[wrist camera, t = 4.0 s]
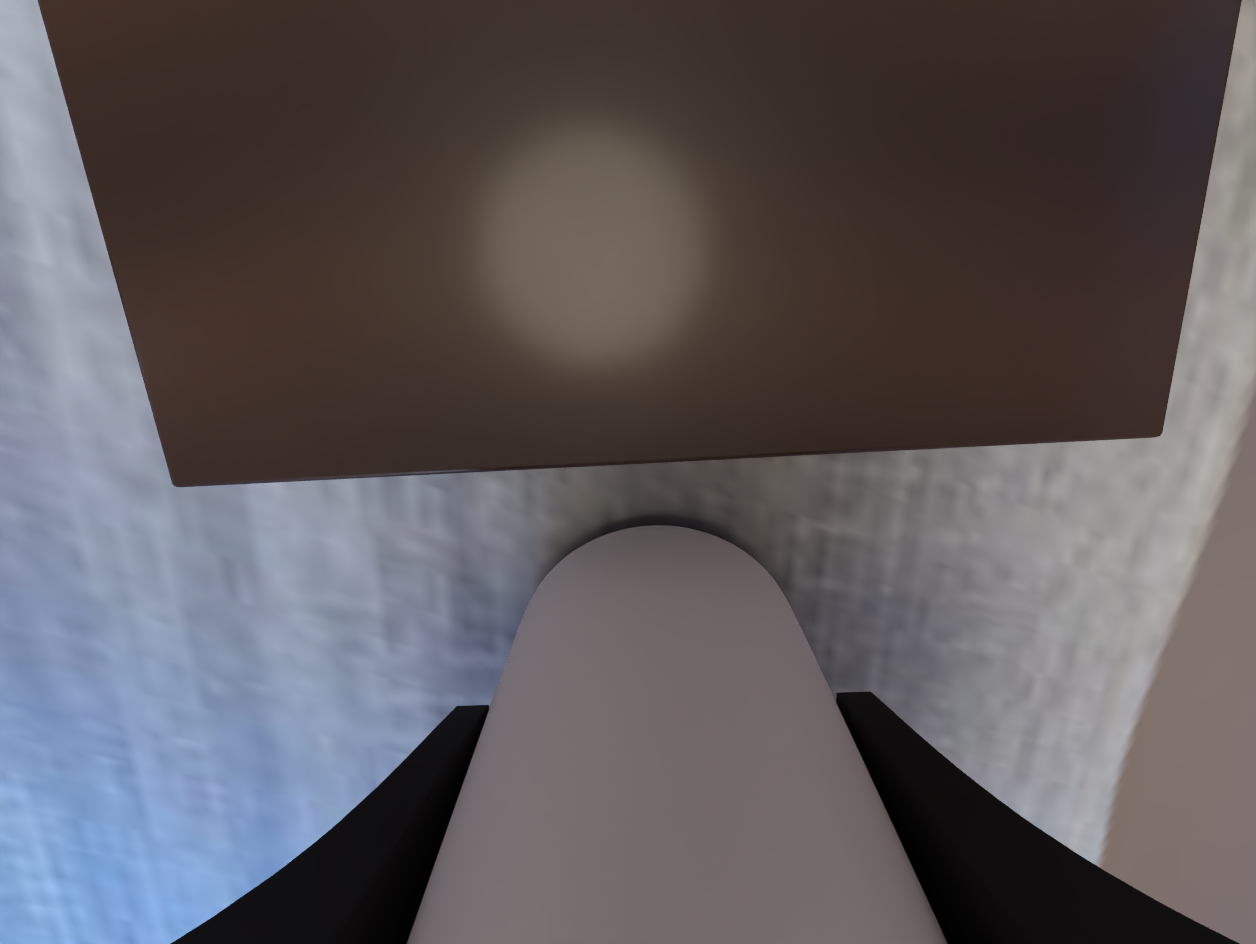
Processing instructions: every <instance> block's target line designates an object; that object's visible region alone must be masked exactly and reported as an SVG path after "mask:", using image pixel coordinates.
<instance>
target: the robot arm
mask: <svg viewBox="0 0 1256 944" xmlns="http://www.w3.org/2000/svg"><path fill="white" fill-rule="evenodd" d="M836 703H837V706H838V708H839V710H840V712H841V714H842V716H843V718H844V721H845V723H846V725H847V727H848V729H849V731H850V733H851V736H852V738H853V740H854V742H855V744H856V746H857V748H858V751H859V753H860V755H861V757H862V759H863V761H864V763H865V766H866V768H867V770H868V772H869V774H870V776H871V779H872V781H873V783H874V785H875V787H876V789H877V792H878V794H879V796H880V798H881V800H882V802H883V805H884V807H885V809H886V811H887V813H888V815H889V817H890V820H891V822H892V824H893V826H894V828H895V830H896V833H897V835H898V837H899V839H900V841H901V843H902V846H903V848H904V850H905V852H906V854H907V856H908V859H909V861H910V863H911V865H912V867H913V869H914V872H915V874H916V876H917V878H918V880H919V882H920V885H921V887H922V889H923V891H924V893H925V895H926V898H927V900H928V902H929V904H930V906H931V909H932V911H933V913H934V915H935V917H936V919H937V922H938V924H939V926H940V928H941V930H942V932H943V935H944V937H945V939H946V941H947V943H948V944H1239V943H1237V942H1235V941H1233V940H1231V939H1229V938H1227V937H1225V936H1223V935H1221V934H1219V933H1217V932H1215V931H1213V930H1211V929H1209V928H1207V927H1205V926H1203V925H1201V924H1199V923H1197V922H1195V921H1193V920H1192V919H1190V918H1188V917H1186V916H1184V915H1182V914H1180V913H1178V912H1176V911H1175V910H1173V909H1171V908H1169V907H1167V906H1165V905H1163V904H1162V903H1160V902H1158V901H1156V900H1154V899H1153V898H1151V897H1149V896H1147V895H1146V894H1144V893H1142V892H1140V891H1139V890H1137V889H1135V888H1133V887H1132V886H1130V885H1128V884H1126V883H1125V882H1123V881H1121V880H1120V879H1118V878H1116V877H1114V876H1113V875H1111V874H1109V873H1108V872H1106V871H1104V870H1102V869H1101V868H1099V867H1098V866H1096V865H1094V864H1093V863H1091V862H1089V861H1088V860H1086V859H1085V858H1083V857H1081V856H1080V855H1078V854H1077V853H1075V852H1073V851H1072V850H1070V849H1069V848H1067V847H1066V846H1064V845H1063V844H1061V843H1060V842H1058V841H1057V840H1055V839H1054V838H1052V837H1051V836H1049V835H1048V834H1046V833H1045V832H1043V831H1042V830H1040V829H1039V828H1037V827H1036V826H1034V825H1033V824H1031V823H1030V822H1028V821H1027V820H1026V819H1024V818H1023V817H1021V816H1020V815H1019V814H1017V813H1016V812H1014V811H1013V810H1012V809H1010V808H1009V807H1008V806H1006V805H1005V804H1004V803H1002V802H1001V801H1000V800H998V799H997V798H996V797H994V796H993V795H992V794H990V793H989V792H988V791H986V790H985V789H984V788H983V787H981V786H980V785H979V784H977V783H976V782H975V781H974V780H972V779H971V778H970V777H969V776H967V775H966V774H965V773H964V772H962V771H961V770H960V769H959V768H957V767H956V766H955V765H954V764H953V763H951V762H950V761H949V760H948V759H947V758H945V757H944V756H943V755H942V754H941V753H939V752H938V751H937V750H936V749H935V748H934V747H932V746H931V745H930V744H929V743H928V742H927V741H925V740H924V739H923V738H922V737H921V736H920V735H919V734H917V733H916V732H915V731H914V730H913V729H912V728H911V727H910V726H908V725H907V724H906V723H905V722H904V721H903V720H902V719H901V718H900V717H898V716H897V715H896V714H895V713H894V712H893V711H892V710H891V709H890V708H888V707H887V706H886V705H885V704H884V703H883V702H882V701H881V700H880V699H878V698H877V697H876V696H875V695H874V694H873V693H871V692H845V693H837V698H836ZM488 711H489V705H476V706H457V707H456V708H455V709H454V710H453V711H451V712H450V714H449V715H448V716H447V717H446V718H445V719H444V720H443V721H442V722H441V723H440V724H439V725H438V726H437V727H436V728H435V729H434V730H433V731H432V732H431V733H430V734H429V735H428V736H427V737H426V738H425V739H424V740H423V741H422V743H421V744H420V745H419V746H418V747H417V748H416V749H415V750H414V751H413V752H412V753H411V754H410V755H409V756H408V757H407V758H406V759H405V760H404V761H403V762H402V763H401V764H400V765H399V766H398V767H397V768H396V769H395V770H394V771H393V772H392V773H391V774H390V775H389V776H388V777H387V778H386V779H385V780H384V781H383V782H382V783H381V784H380V785H379V786H378V787H377V788H376V789H375V790H374V791H372V792H371V793H370V794H369V795H368V796H367V797H366V798H365V799H364V800H363V801H362V802H360V803H359V804H358V805H357V806H356V807H355V808H354V809H353V810H352V811H351V812H350V813H349V814H347V815H346V816H345V817H344V818H343V819H342V820H341V821H340V822H339V823H338V824H336V825H335V826H334V827H333V828H332V829H331V830H329V831H328V832H327V833H326V834H325V835H323V836H322V837H321V838H320V839H319V840H317V841H316V842H315V843H314V844H313V845H311V846H310V847H309V848H307V849H306V850H305V851H304V852H302V853H301V854H300V855H299V856H297V857H296V858H295V859H293V860H292V861H291V862H290V863H288V864H287V865H286V866H285V867H283V868H282V869H281V870H279V871H278V872H277V873H275V874H274V875H273V876H271V877H270V878H268V879H267V880H265V881H264V882H263V883H261V884H260V885H258V886H257V887H255V888H254V889H253V890H251V891H250V892H248V893H247V894H245V895H244V896H242V897H241V898H240V899H238V900H237V901H235V902H234V903H232V904H231V905H230V906H228V907H227V908H225V909H224V910H222V911H221V912H220V913H218V914H217V915H215V916H214V917H212V918H211V919H209V920H208V921H206V922H204V923H203V924H201V925H200V926H198V927H197V928H195V929H193V930H192V931H190V932H189V933H187V934H185V935H184V936H182V937H181V938H179V939H178V940H176V941H174V942H173V943H171V944H407V942H408V939H409V936H410V933H411V930H412V927H413V924H414V922H415V919H416V916H417V913H418V910H419V907H420V904H421V902H422V899H423V896H424V893H425V890H426V887H427V884H428V881H429V879H430V876H431V873H432V870H433V867H434V864H435V862H436V859H437V856H438V853H439V850H440V847H441V845H442V842H443V839H444V836H445V833H446V830H447V827H448V825H449V822H450V819H451V816H452V813H453V810H454V808H455V805H456V802H457V799H458V796H459V793H460V791H461V788H462V785H463V782H464V779H465V776H466V774H467V771H468V768H469V765H470V762H471V759H472V757H473V754H474V751H475V748H476V745H477V742H478V740H479V737H480V734H481V731H482V728H483V726H484V723H485V720H486V717H487V714H488Z"/></svg>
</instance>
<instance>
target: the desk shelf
mask: <svg viewBox="0 0 1256 944" xmlns="http://www.w3.org/2000/svg"><path fill="white" fill-rule="evenodd" d="M1241 1H1242V0H38V3H39V7H40V10H41V14H42V17H43V21H44V25H45V28H46V32H47V35H48V39H49V42H50V46H51V50H52V53H53V57H54V60H55V64H56V68H57V71H58V75H59V78H60V82H61V86H62V89H63V93H64V96H65V100H66V103H67V107H68V111H69V114H70V118H71V121H72V125H73V129H74V132H75V136H76V139H77V143H78V147H79V150H80V154H81V157H82V161H83V164H84V168H85V172H86V175H87V179H88V182H89V186H90V190H91V193H92V197H93V200H94V204H95V208H96V211H97V215H98V218H99V222H100V226H101V229H102V233H103V236H104V240H105V243H106V247H107V251H108V254H109V258H110V261H111V265H112V269H113V272H114V276H115V279H116V283H117V287H118V290H119V294H120V297H121V301H122V304H123V308H124V312H125V315H126V319H127V322H128V326H129V330H130V333H131V337H132V340H133V344H134V348H135V351H136V355H137V358H138V362H139V365H140V369H141V373H142V376H143V380H144V383H145V387H146V391H147V394H148V398H149V401H150V405H151V409H152V412H153V416H154V419H155V423H156V427H157V430H158V434H159V437H160V441H161V444H162V448H163V452H164V455H165V459H166V462H167V466H168V470H169V473H170V477H171V480H172V484H173V485H174V486H176V487H194V486H213V485H233V484H252V483H272V482H292V481H311V480H331V479H350V478H370V477H390V476H409V475H429V474H448V473H468V472H488V471H507V470H527V469H546V468H566V467H585V466H605V465H625V464H644V463H664V462H683V461H703V460H723V459H742V458H762V457H781V456H801V455H820V454H840V453H860V452H879V451H899V450H918V449H938V448H958V447H977V446H997V445H1016V444H1036V443H1055V442H1075V441H1095V440H1114V439H1134V438H1153V437H1158V436H1160V435H1161V434H1162V431H1163V425H1164V420H1165V414H1166V409H1167V404H1168V398H1169V393H1170V387H1171V382H1172V376H1173V371H1174V365H1175V360H1176V355H1177V349H1178V344H1179V338H1180V333H1181V327H1182V322H1183V316H1184V311H1185V306H1186V300H1187V295H1188V289H1189V284H1190V278H1191V273H1192V267H1193V262H1194V257H1195V251H1196V246H1197V240H1198V235H1199V229H1200V224H1201V218H1202V213H1203V208H1204V202H1205V197H1206V191H1207V186H1208V180H1209V175H1210V169H1211V164H1212V159H1213V153H1214V148H1215V142H1216V137H1217V131H1218V126H1219V120H1220V115H1221V110H1222V104H1223V99H1224V93H1225V88H1226V82H1227V77H1228V71H1229V66H1230V61H1231V55H1232V50H1233V44H1234V39H1235V33H1236V28H1237V22H1238V17H1239V12H1240V6H1241Z"/></svg>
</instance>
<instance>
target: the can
mask: <svg viewBox="0 0 1256 944" xmlns="http://www.w3.org/2000/svg"><path fill="white" fill-rule="evenodd" d="M407 944H948V943H947V941H946V939H945V937H944V935H943V932H942V930H941V928H940V926H939V924H938V922H937V919H936V917H935V915H934V913H933V911H932V909H931V906H930V904H929V902H928V900H927V898H926V895H925V893H924V891H923V889H922V887H921V885H920V882H919V880H918V878H917V876H916V874H915V872H914V869H913V867H912V865H911V863H910V861H909V859H908V856H907V854H906V852H905V850H904V848H903V846H902V843H901V841H900V839H899V837H898V835H897V833H896V830H895V828H894V826H893V824H892V822H891V820H890V817H889V815H888V813H887V811H886V809H885V807H884V805H883V802H882V800H881V798H880V796H879V794H878V792H877V789H876V787H875V785H874V783H873V781H872V779H871V776H870V774H869V772H868V770H867V768H866V766H865V763H864V761H863V759H862V757H861V755H860V753H859V751H858V748H857V746H856V744H855V742H854V740H853V738H852V736H851V733H850V731H849V729H848V727H847V725H846V723H845V721H844V718H843V716H842V714H841V712H840V710H839V708H838V706H837V703H836V701H835V699H834V697H833V695H832V693H831V690H830V688H829V686H828V684H827V682H826V680H825V678H824V676H823V673H822V671H821V669H820V667H819V665H818V663H817V661H816V659H815V656H814V654H813V652H812V650H811V648H810V646H809V644H808V642H807V639H806V637H805V635H804V633H803V631H802V629H801V627H800V625H799V623H798V621H797V619H796V617H795V615H794V613H793V611H792V609H791V607H790V605H789V603H788V601H787V599H786V597H785V595H784V594H783V592H782V590H781V589H780V587H779V586H778V584H777V583H776V582H775V580H774V579H773V578H772V576H771V575H770V574H769V573H768V572H767V571H766V570H765V568H763V567H762V566H761V565H760V564H759V563H758V562H757V561H756V560H755V559H754V558H752V557H751V556H750V555H749V554H747V553H746V552H744V551H743V550H741V549H740V548H738V547H737V546H735V545H733V544H731V543H729V542H727V541H725V540H723V539H721V538H719V537H716V536H714V535H711V534H708V533H705V532H702V531H698V530H694V529H689V528H684V527H677V526H663V525H655V526H640V527H633V528H628V529H623V530H619V531H615V532H612V533H609V534H606V535H603V536H601V537H598V538H596V539H594V540H592V541H590V542H588V543H586V544H584V545H582V546H581V547H579V548H577V549H576V550H574V551H573V552H571V553H570V554H569V555H567V556H566V557H565V558H563V559H562V560H561V561H560V562H559V563H558V564H557V565H556V566H555V567H554V568H553V569H552V570H551V571H550V572H549V573H548V574H547V575H546V576H545V578H544V579H543V580H542V582H541V583H540V584H539V586H538V587H537V589H536V591H535V592H534V594H533V596H532V598H531V600H530V602H529V604H528V606H527V608H526V611H525V613H524V615H523V618H522V620H521V623H520V626H519V628H518V631H517V634H516V636H515V639H514V642H513V644H512V647H511V650H510V653H509V656H508V658H507V661H506V664H505V667H504V669H503V672H502V675H501V678H500V681H499V683H498V686H497V689H496V692H495V695H494V697H493V700H492V703H491V706H490V709H489V711H488V714H487V717H486V720H485V723H484V726H483V728H482V731H481V734H480V737H479V740H478V742H477V745H476V748H475V751H474V754H473V757H472V759H471V762H470V765H469V768H468V771H467V774H466V776H465V779H464V782H463V785H462V788H461V791H460V793H459V796H458V799H457V802H456V805H455V808H454V810H453V813H452V816H451V819H450V822H449V825H448V827H447V830H446V833H445V836H444V839H443V842H442V845H441V847H440V850H439V853H438V856H437V859H436V862H435V864H434V867H433V870H432V873H431V876H430V879H429V881H428V884H427V887H426V890H425V893H424V896H423V899H422V902H421V904H420V907H419V910H418V913H417V916H416V919H415V922H414V924H413V927H412V930H411V933H410V936H409V939H408V942H407Z"/></svg>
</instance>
